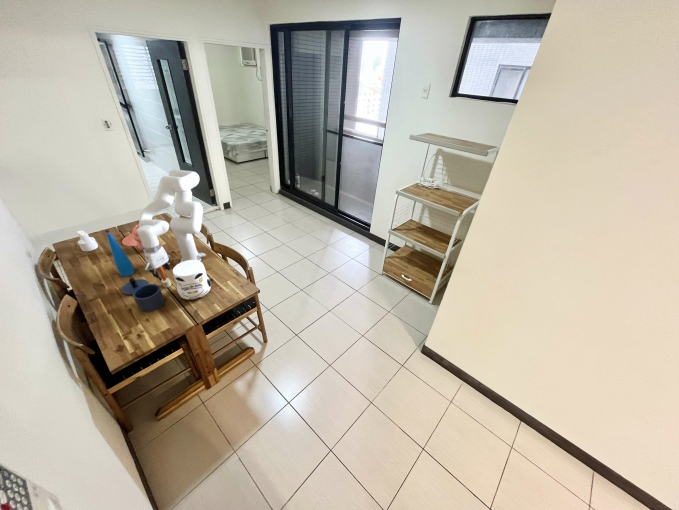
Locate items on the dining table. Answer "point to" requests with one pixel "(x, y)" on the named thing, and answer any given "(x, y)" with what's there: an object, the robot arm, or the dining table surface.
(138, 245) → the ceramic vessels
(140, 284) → the tin lid
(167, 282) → the brush
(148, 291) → the tin
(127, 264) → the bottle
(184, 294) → the milk container
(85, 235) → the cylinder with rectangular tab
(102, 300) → the dining table surface
